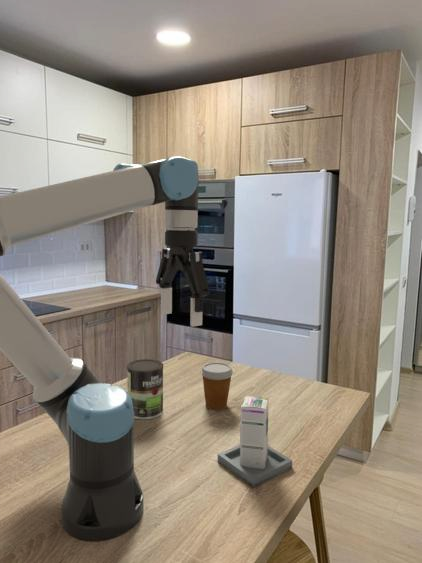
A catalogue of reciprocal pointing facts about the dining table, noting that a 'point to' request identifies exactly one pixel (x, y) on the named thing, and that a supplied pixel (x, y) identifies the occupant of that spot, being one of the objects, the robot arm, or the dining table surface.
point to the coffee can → (146, 388)
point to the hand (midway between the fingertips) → (180, 319)
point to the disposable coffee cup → (216, 384)
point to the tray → (251, 475)
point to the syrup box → (254, 432)
